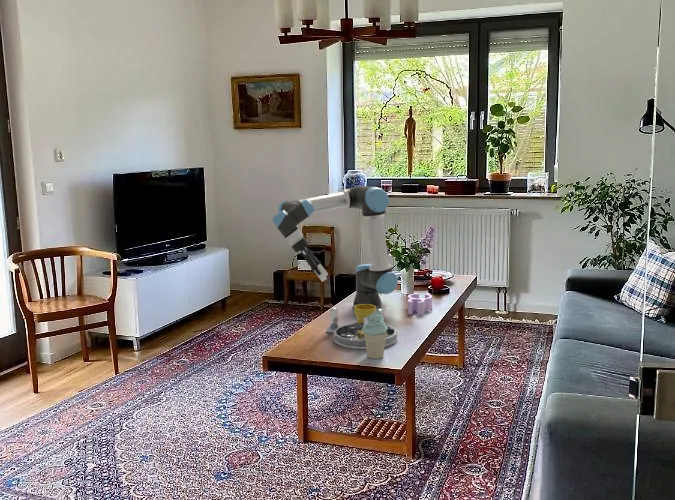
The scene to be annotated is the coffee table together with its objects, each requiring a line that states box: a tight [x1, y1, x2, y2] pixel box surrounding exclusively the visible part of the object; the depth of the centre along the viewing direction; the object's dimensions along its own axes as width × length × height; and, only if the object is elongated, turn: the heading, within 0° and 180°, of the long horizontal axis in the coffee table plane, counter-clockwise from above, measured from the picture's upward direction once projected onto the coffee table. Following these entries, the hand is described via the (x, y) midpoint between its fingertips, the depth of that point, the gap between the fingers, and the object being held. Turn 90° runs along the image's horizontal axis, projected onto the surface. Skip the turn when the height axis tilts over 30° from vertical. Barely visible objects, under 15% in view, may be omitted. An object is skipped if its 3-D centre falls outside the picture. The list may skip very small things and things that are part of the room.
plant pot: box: [353, 304, 376, 323], centre depth 316 cm, size 10×10×10 cm
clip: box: [407, 292, 433, 316], centre depth 343 cm, size 20×12×7 cm, turn 161°
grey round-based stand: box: [326, 307, 340, 334], centre depth 310 cm, size 7×7×11 cm
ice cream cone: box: [362, 309, 388, 360], centre depth 273 cm, size 10×11×20 cm
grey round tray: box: [333, 308, 398, 351], centre depth 296 cm, size 28×28×12 cm
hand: (325, 278), depth 306 cm, fingers open, 13 cm apart
